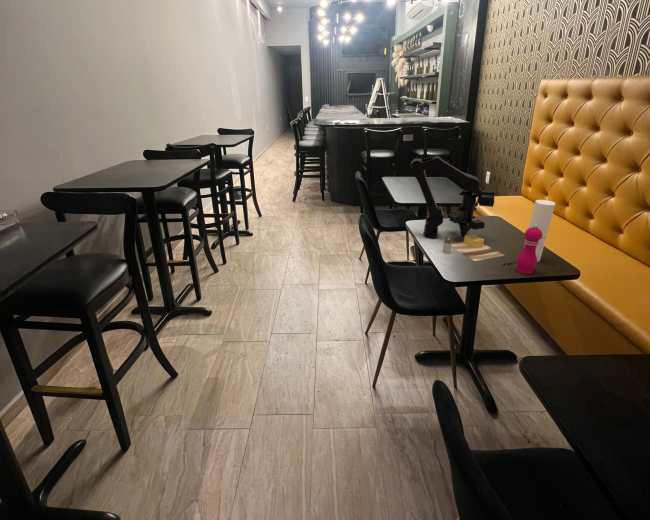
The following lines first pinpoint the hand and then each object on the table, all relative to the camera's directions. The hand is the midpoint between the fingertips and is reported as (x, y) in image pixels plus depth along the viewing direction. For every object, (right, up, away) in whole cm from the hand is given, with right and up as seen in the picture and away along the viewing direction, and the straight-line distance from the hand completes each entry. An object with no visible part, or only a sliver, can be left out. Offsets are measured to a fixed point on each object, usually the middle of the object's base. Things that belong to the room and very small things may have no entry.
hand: (462, 236), depth 182 cm
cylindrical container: (+24, -10, -15) cm, 30 cm away
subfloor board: (+2, -8, -10) cm, 13 cm away
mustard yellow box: (+3, -4, -6) cm, 7 cm away
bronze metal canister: (-12, -9, -12) cm, 19 cm away
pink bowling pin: (+16, -15, -25) cm, 34 cm away
